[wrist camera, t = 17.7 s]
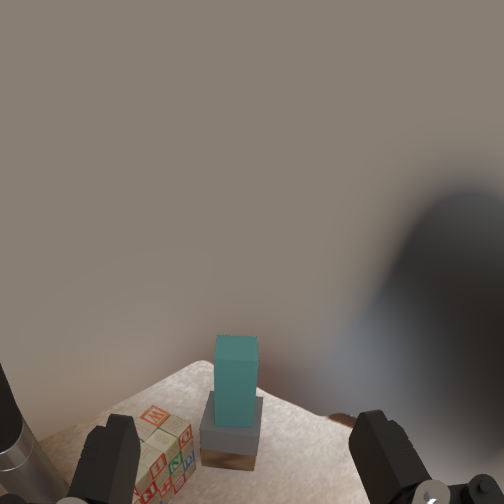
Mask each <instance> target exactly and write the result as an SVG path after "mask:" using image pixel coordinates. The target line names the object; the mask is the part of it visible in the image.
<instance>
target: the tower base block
mask: <svg viewBox="0 0 504 504" xmlns="http://www.w3.org/2000/svg"><path fill="white" fill-rule="evenodd" d="M200 452H201V463H202V466H208V467H215V468H224V469H233V470H245V471H254V466H255V459H256V456H251V455H241V454H233V453H226V452H219V451H212V450H206V449H201V448H200Z"/></svg>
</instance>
